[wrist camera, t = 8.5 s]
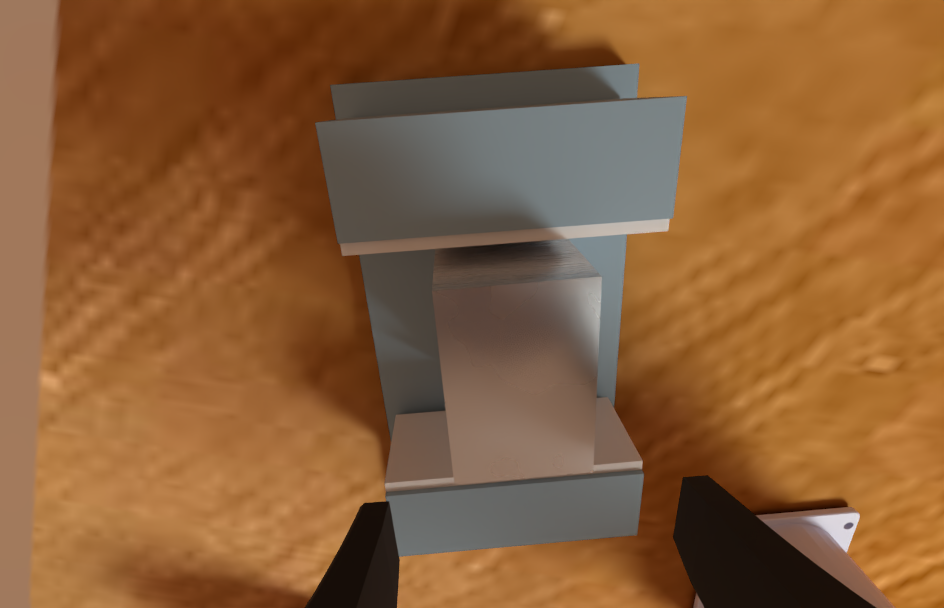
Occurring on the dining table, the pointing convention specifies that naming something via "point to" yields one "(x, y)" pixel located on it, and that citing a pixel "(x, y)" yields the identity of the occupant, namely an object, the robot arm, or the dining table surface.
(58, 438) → the dining table surface
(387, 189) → the base
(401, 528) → the block
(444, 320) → the steel block
